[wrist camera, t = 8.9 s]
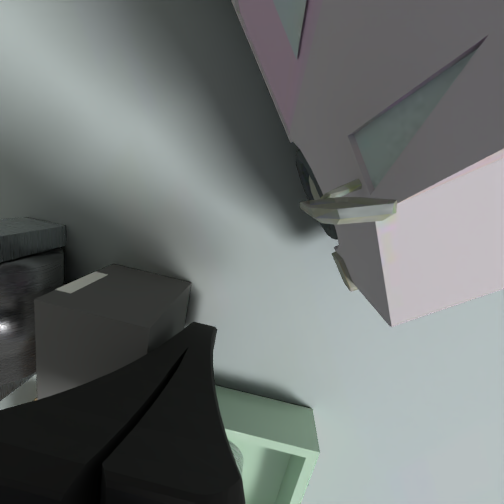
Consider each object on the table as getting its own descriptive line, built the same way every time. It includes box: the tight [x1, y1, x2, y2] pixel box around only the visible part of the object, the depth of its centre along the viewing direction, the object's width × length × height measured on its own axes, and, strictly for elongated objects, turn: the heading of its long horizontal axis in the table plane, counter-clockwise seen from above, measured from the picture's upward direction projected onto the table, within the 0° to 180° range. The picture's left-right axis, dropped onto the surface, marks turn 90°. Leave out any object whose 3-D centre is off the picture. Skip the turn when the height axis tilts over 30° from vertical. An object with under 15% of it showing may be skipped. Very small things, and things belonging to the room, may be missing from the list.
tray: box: [215, 385, 320, 504], centre depth 13 cm, size 8×9×2 cm
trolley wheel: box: [0, 217, 66, 401], centre depth 10 cm, size 4×7×4 cm, turn 169°
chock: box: [34, 264, 191, 400], centre depth 10 cm, size 4×4×4 cm
